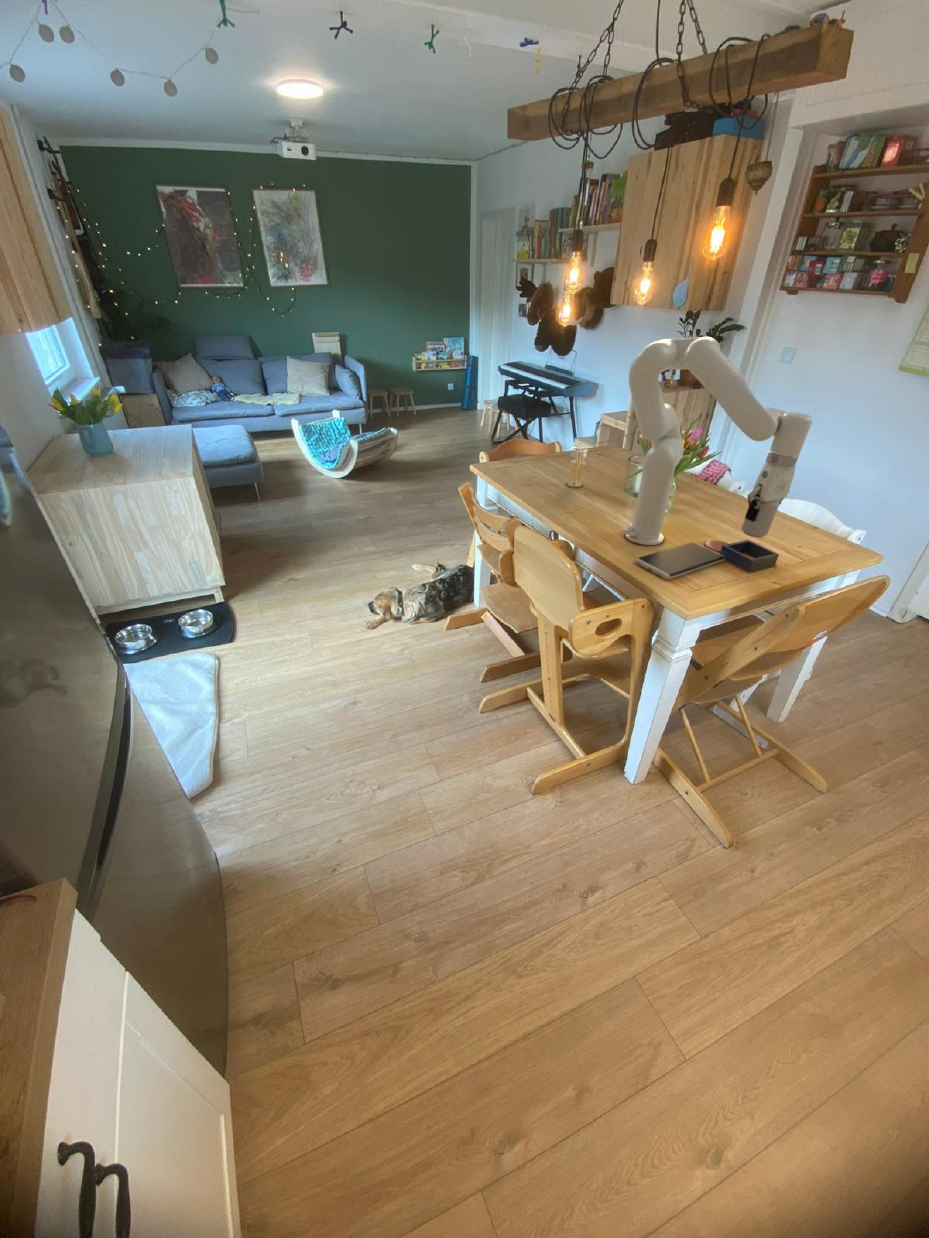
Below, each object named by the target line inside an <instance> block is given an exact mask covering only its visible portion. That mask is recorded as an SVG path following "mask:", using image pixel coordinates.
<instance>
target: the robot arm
mask: <svg viewBox="0 0 929 1238" xmlns="http://www.w3.org/2000/svg"><path fill="white" fill-rule="evenodd" d="M676 370H688V371H689V373H690V374H692V376H694V377H695V379H696V380H697V381H699V383H700V384H701V385H702V386H703V387H704V388H705V389H706V390H707V391H708V392H709V394H711V395H712V397H714V398H715V400H716V402H717V403H718V405H719V406H720V407H721V409H723V411H724V412H725V413H726V415H727V416H728V417H729V419H730V420H731V421H732V422H733V423H734V424H735V425H736V427H738V429H739V430H740V431H741V432H742V433H743V434H744V435H745V436H746V437H747V438H749V439H750V440H751V441H754V442H763V441H764V442H765V441H767V440H769V439H770V438H772V437H773V439H772V442H771V445H770V448H769V450H768V454H767V456H766V458H765V462H764V464H763V466H762V468H761V470H760V472H759V474H758V477H757V478H756V481H755V484H754V486H753V489H752V490H751V491H750V492H749V493H748V494H747V495H746V496H747V503H748V504H747V506H748V508H747V510H746V513H745V515H744V519H745V518H746V519H748V520H750V521H752V522H754V521H755V520H756V517H757V514H758V512H759V509H758V508H759V506H760V505H761V504H762V502H763V501H765V502H768V501H772V500H778V499H779V500H778V502H779V506H780V505H781V504H782V501H783V500H785V499H786V497H787V496H788V494H789V492H790V488H791V485H792V483H793V481H794V480H793V479H794V476H795V472H796V464H797V462H798V459H799V457H800V454H801V451H802V449H803V446H804V444H805V441H806V439H807V437H808V434H809V431H810V429H811V426H812V423H813V417H811V415H809V414H806V413H802V412H795V411H793V412H789V411H785V410H781V409H778V408H776V407H775V408H774V407H771V406H764V405H762V403H761V402H759V400H758V399H757V398H756V397H755V395H754V394H753V392H752V391H751V389H750V388H749V386H748V383H747V380H746V378H745V376H744V374H743V373H742V371H740V369H738V368H737V366H736V365H735V364H734V363H733V362H732V361H731V360H730V359H729V358H728V357H727V356H726V355H725V353H723V352H722V351H721V346H720V343H719V342H718V340H717V339H716V338H714V337H711V336H699V337H683V338H682V337H681V338H664V339H660V340H657V341H653V342H651V343H650V344H648V345H646V346H645V347H643V348H642V349H641V350H640V351H639V352H638V354H637V355H636V356H635V358H634V359H633V361H632V363H631V365H630V368H629V372H628V385H629V391H630V395H631V399H632V403H633V408H634V413H635V417H636V421H637V425H638V430H639V433H640V436H641V437H643V438H644V439H645V440H646V441H650V445H651V447H650V448H649V449H648V451H647V452H646V454H645V456H644V459H643V463H642V470H641V471H642V472H641V478H640V484H639V489H638V494H637V499H636V503H635V508H634V513H633V518H632V522H631V523H629V526H628V527H626V528H623V529H620V530H619V535H620V536H625V538H626V539H627V540H628V541H630V542H632V543H635V544H639V545H645V546H656V545H659V544H662V543H663V542H664V540H665V536H664V535H663V534H662V533H661V530H662V527H663V523H664V518H665V515H666V510H667V506H668V502H669V498H670V493H671V489H672V484H673V480H674V474H675V471H676V467H677V465H678V464H679V463H680V461H682V458H683V456H684V452H685V449H684V443H683V438H682V433H681V428H680V424H679V419H678V416H677V413H676V411H675V409H674V408H673V406H671V405H670V404H668V403H665V399H664V395H663V390H662V386H661V383H660V382H659V381H660V380H659V377H660V374H661V373H663V372H666V371H676ZM758 496H761V498H760V497H758ZM756 499H757V500H759V501H758V503H756Z"/></svg>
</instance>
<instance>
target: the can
mask: <svg viewBox="0 0 929 1238" xmlns="http://www.w3.org/2000/svg"><path fill="white" fill-rule="evenodd" d="M758 497H760V498H761V496H758ZM778 500H779V499H778ZM778 500H772V501H768V502H765V501H763V502H762V504H761V505H760V506H759V508H758V509H759V512H758V514H757V517H756V520H755V521H754V522H752V521H750V520H748V519H746V518H745V517H744V520H743V523H742V525H741V527H740V528H741V531H742V532H743V534H744V535H746V536H749V537H752V538H763V537H766V536H767V535H768V534H769V532H770V529H771V526H772V524H773V522H774V519H775V517H776V515H777V512H778V510H779V507H780V505H779V502H778ZM758 501H759V500H757V499H756V503H758Z"/></svg>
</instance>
